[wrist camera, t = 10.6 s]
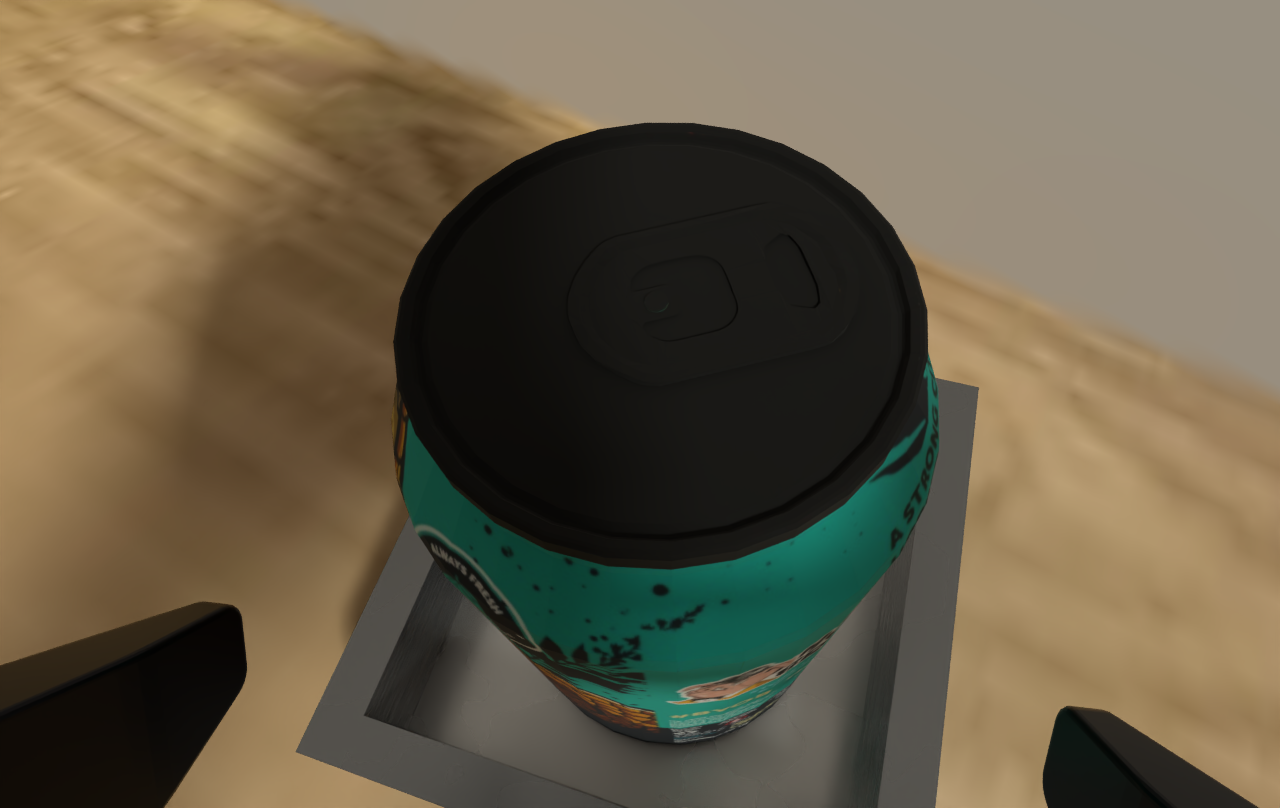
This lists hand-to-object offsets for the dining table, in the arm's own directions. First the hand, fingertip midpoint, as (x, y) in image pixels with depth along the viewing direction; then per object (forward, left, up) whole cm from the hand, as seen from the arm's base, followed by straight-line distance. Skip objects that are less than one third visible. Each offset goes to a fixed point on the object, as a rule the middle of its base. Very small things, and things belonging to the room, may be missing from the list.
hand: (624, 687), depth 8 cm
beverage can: (+3, -2, -10) cm, 11 cm away
